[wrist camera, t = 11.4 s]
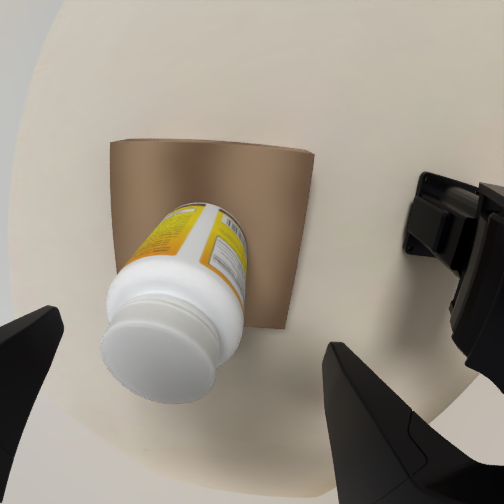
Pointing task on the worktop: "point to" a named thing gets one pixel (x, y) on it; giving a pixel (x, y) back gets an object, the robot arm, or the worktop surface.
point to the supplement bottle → (178, 306)
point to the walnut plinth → (219, 205)
